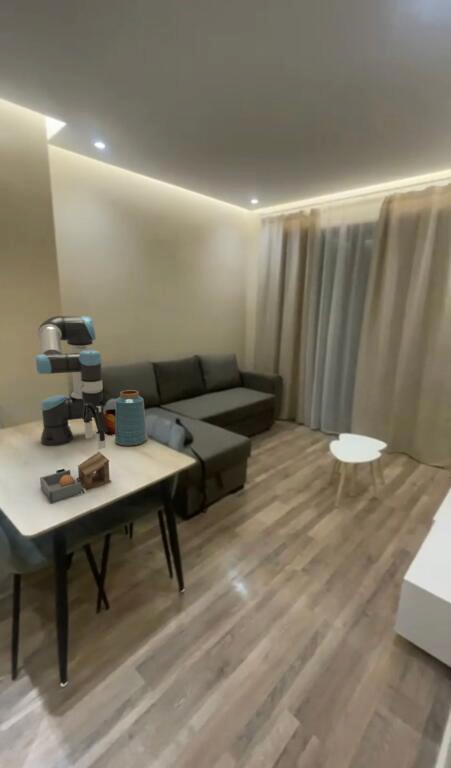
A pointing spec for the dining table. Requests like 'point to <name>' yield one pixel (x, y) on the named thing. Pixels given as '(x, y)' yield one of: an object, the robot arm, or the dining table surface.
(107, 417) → the mug
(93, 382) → the robot arm
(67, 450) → the dining table surface
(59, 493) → the bin
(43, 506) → the dining table surface
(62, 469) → the dark open box
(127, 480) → the dining table surface
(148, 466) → the dining table surface
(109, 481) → the wooden cubby
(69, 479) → the ball
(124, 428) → the vase
